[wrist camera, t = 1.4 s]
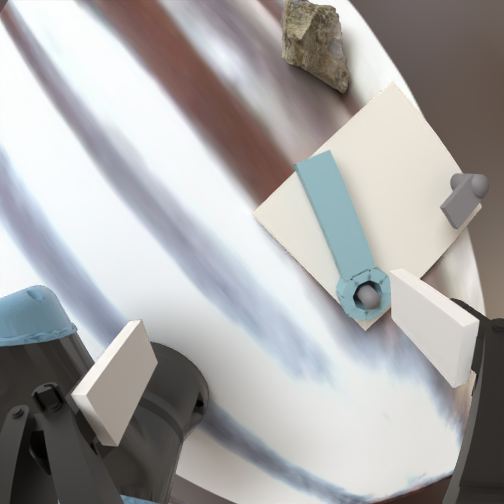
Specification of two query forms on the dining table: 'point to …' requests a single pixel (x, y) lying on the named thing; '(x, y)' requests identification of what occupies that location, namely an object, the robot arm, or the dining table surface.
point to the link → (342, 234)
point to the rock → (314, 41)
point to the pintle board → (382, 196)
